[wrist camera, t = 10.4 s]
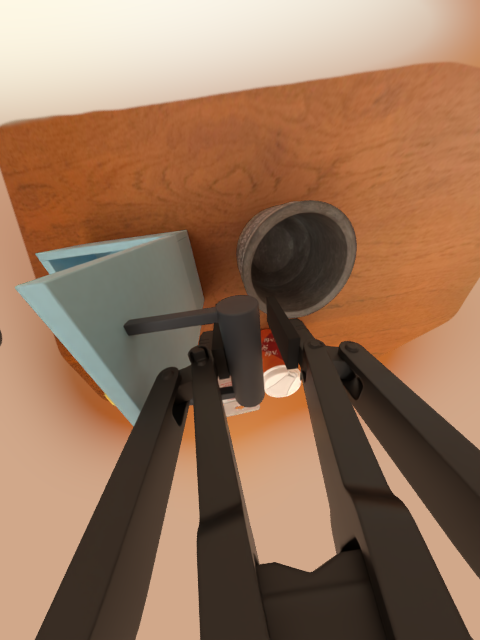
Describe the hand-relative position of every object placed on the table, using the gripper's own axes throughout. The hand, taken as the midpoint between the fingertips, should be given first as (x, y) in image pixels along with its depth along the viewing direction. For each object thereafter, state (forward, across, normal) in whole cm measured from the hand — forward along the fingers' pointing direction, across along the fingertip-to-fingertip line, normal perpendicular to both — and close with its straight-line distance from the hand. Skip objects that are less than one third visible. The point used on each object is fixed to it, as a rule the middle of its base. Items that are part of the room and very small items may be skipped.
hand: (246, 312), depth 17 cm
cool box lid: (+1, -8, 0) cm, 8 cm away
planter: (+21, +7, +2) cm, 22 cm away
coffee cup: (+21, +6, -20) cm, 30 cm away
